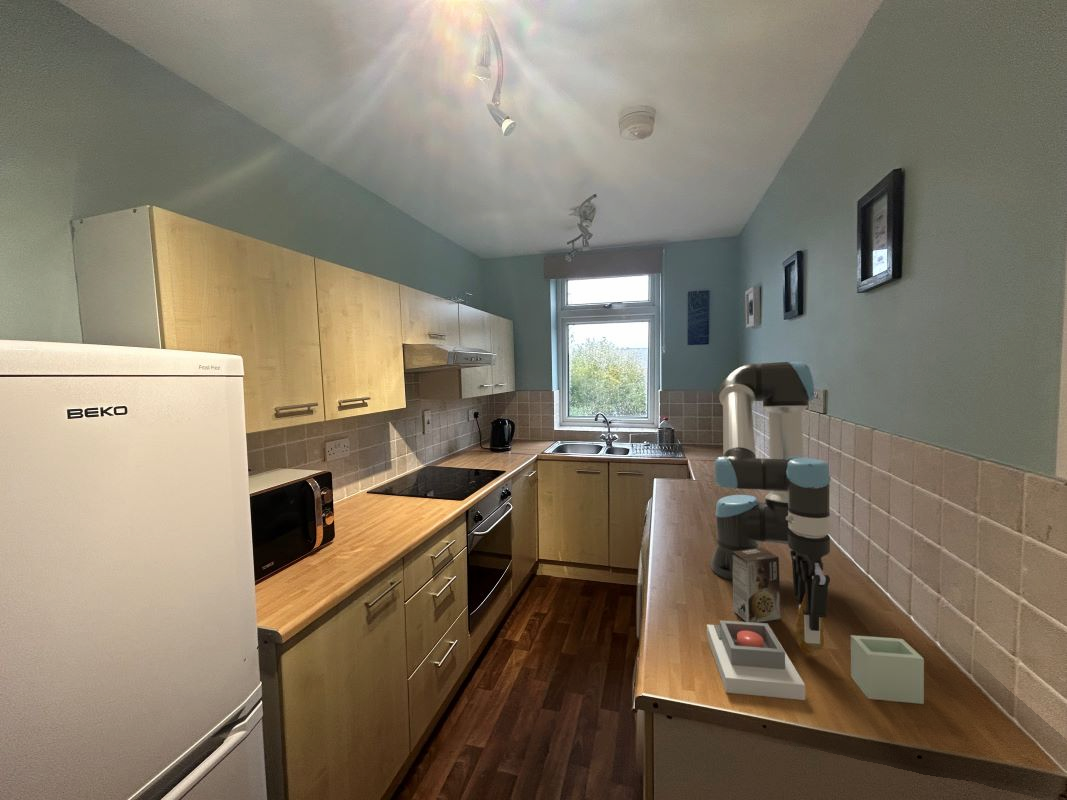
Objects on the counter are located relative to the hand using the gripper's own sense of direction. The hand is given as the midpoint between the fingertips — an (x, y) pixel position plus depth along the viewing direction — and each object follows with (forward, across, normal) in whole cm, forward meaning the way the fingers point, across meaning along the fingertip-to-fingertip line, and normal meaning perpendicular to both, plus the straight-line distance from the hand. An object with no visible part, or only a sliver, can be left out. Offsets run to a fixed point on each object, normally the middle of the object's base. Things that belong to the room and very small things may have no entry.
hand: (809, 638), depth 92 cm
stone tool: (+4, 0, 0) cm, 4 cm away
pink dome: (+1, +4, -13) cm, 14 cm away
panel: (+4, +4, -13) cm, 14 cm away
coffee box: (+5, -16, -6) cm, 17 cm away
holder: (+4, +8, +10) cm, 14 cm away
